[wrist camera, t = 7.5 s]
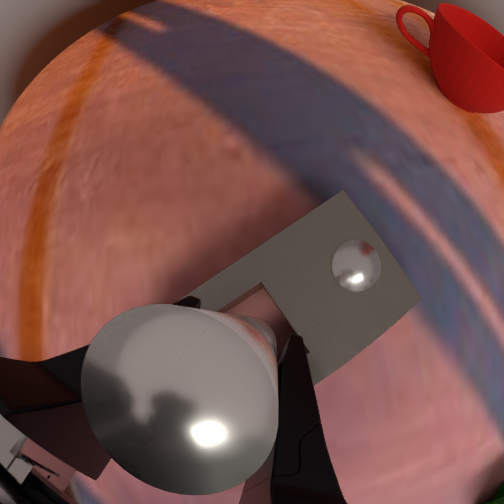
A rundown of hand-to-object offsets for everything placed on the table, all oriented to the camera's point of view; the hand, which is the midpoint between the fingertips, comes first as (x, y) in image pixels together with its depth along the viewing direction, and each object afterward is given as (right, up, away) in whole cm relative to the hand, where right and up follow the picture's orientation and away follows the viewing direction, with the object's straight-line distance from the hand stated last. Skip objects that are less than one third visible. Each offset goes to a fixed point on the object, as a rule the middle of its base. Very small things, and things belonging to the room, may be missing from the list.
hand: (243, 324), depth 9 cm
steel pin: (0, -3, +6) cm, 7 cm away
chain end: (+3, -2, +10) cm, 11 cm away
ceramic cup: (+24, +23, +14) cm, 36 cm away
